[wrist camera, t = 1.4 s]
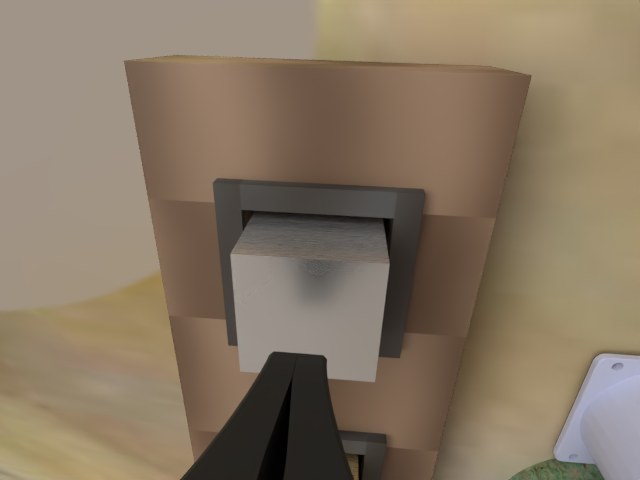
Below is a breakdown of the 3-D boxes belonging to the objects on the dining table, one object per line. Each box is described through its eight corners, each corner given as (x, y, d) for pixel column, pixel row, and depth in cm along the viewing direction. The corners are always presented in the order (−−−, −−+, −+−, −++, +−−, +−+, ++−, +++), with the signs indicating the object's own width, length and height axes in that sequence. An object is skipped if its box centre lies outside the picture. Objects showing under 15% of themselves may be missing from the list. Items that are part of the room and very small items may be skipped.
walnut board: (489, 66, 15) (538, 77, 11) (404, 490, 27) (412, 569, 23) (175, 55, 16) (115, 61, 12) (227, 473, 28) (205, 547, 24)
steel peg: (380, 207, 15) (389, 264, 11) (370, 305, 17) (375, 382, 13) (260, 200, 15) (230, 254, 11) (264, 298, 17) (240, 371, 13)
